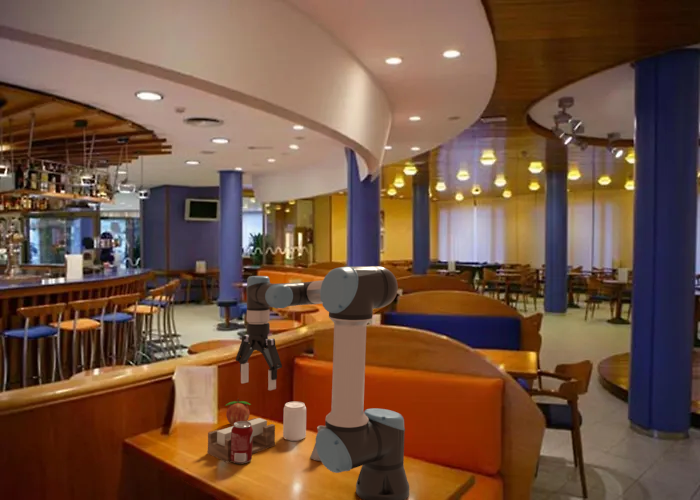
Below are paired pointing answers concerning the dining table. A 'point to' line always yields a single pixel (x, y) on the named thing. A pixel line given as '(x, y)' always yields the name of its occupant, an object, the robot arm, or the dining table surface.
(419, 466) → the dining table surface
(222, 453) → the rack
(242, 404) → the fruit
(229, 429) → the white rectangular bar
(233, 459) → the soda can
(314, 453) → the flask
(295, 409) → the beverage can
